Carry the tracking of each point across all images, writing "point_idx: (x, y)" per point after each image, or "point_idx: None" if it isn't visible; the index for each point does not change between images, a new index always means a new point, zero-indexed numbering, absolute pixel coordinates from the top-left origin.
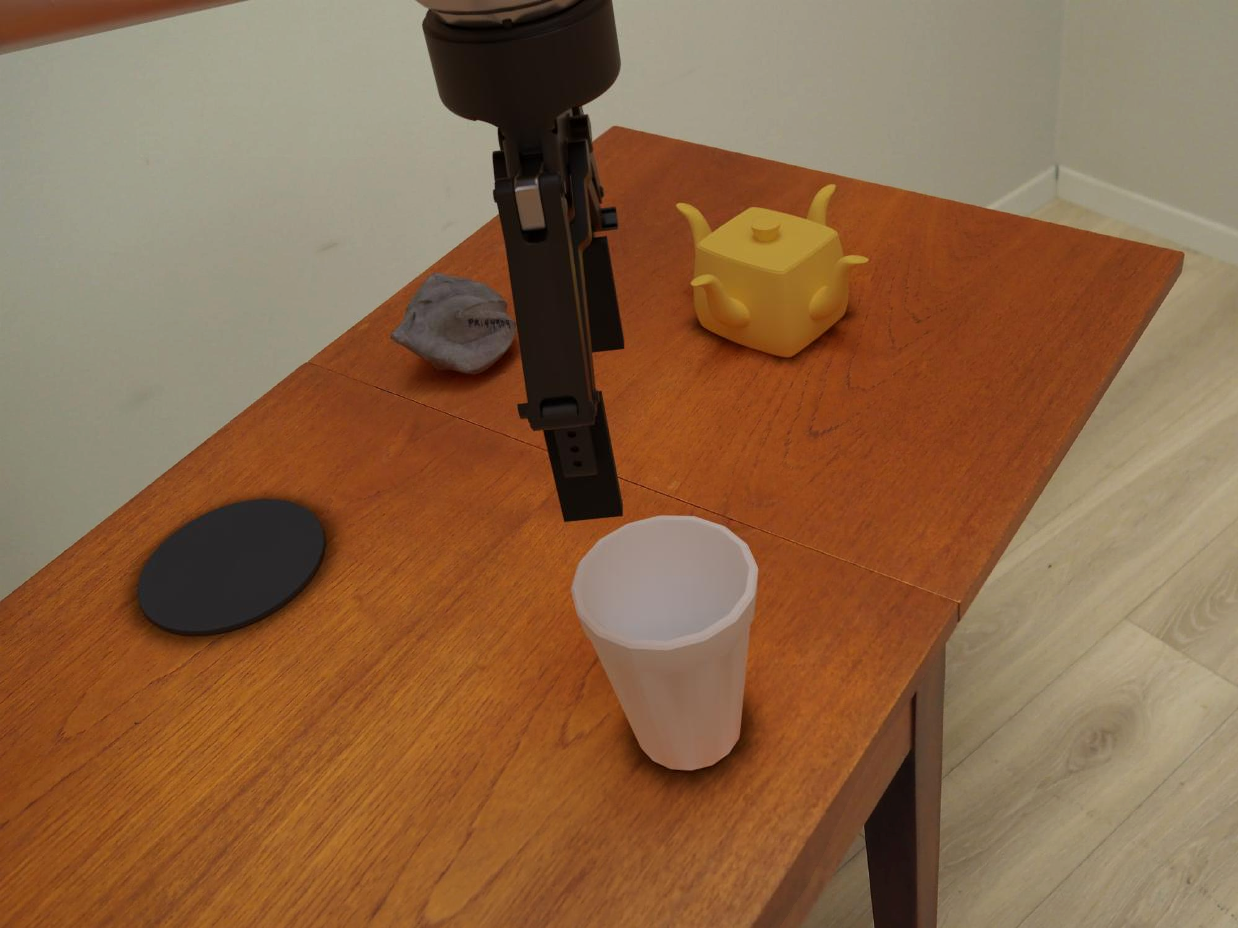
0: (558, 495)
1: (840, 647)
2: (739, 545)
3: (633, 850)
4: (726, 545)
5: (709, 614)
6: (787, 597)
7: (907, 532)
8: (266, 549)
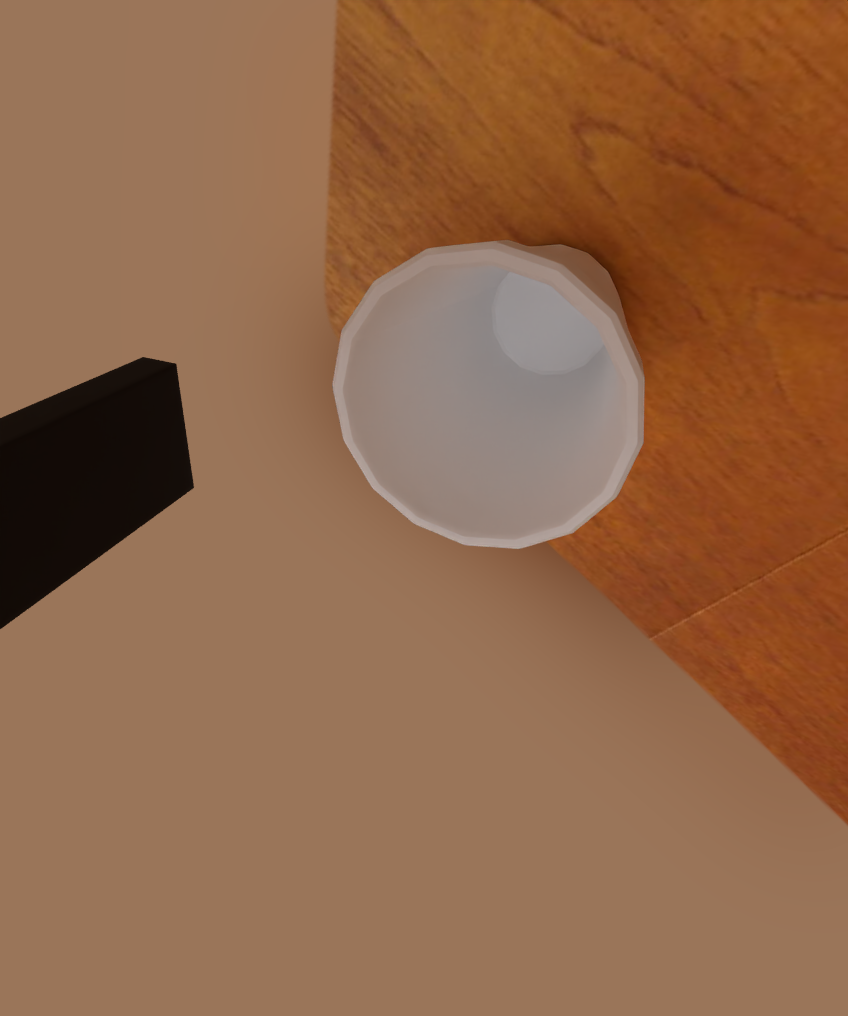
0: (77, 386)
1: (625, 514)
2: (515, 539)
3: (402, 216)
4: (540, 518)
5: (586, 417)
6: (737, 487)
7: (786, 649)
8: None
